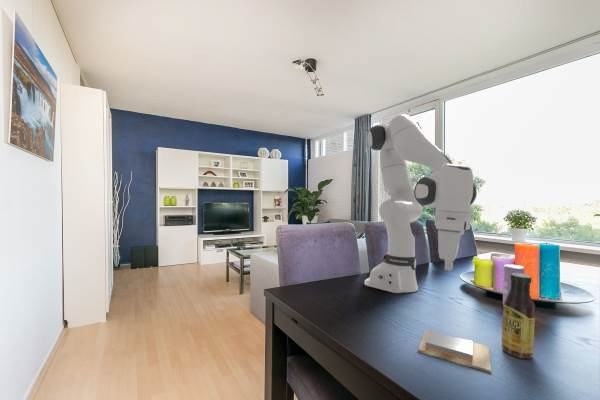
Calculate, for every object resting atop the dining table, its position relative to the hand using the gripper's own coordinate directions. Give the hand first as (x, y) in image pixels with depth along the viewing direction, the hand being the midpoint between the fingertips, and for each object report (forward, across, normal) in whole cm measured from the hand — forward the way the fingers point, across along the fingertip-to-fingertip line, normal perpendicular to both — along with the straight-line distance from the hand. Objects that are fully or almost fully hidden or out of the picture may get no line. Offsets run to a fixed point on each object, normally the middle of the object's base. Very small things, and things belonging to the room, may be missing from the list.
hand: (448, 269), depth 78 cm
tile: (+17, +6, +2) cm, 18 cm away
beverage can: (+18, -35, +19) cm, 44 cm away
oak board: (+18, +9, +3) cm, 20 cm away
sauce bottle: (+18, +2, +16) cm, 24 cm away
